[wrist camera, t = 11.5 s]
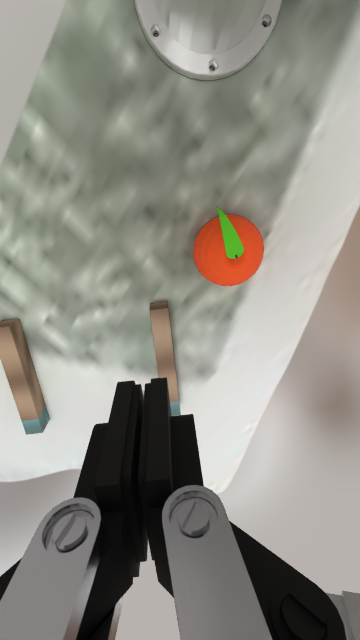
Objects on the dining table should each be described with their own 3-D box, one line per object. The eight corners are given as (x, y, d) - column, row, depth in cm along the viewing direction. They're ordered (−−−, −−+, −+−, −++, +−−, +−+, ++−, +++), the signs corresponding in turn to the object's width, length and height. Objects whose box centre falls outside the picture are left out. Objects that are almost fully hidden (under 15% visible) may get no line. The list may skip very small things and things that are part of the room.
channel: (1, 320, 35) (-10, 328, 32) (167, 301, 35) (168, 308, 33) (34, 421, 39) (26, 434, 37) (179, 402, 40) (180, 415, 38)
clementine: (177, 218, 32) (182, 220, 26) (238, 193, 32) (260, 189, 25) (202, 287, 35) (212, 305, 28) (259, 264, 35) (283, 278, 28)
